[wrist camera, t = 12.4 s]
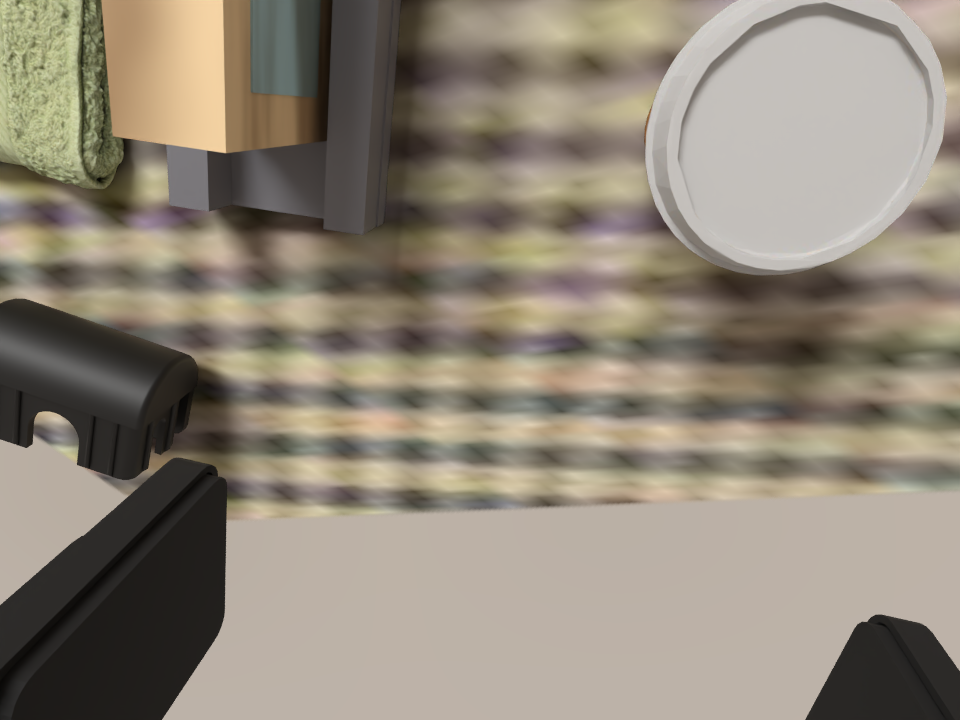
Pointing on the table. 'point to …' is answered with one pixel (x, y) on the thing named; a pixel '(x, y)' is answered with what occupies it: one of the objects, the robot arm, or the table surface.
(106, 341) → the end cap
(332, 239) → the table surface
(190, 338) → the table surface
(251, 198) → the picture stand
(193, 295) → the table surface
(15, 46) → the washcloth
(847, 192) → the disposable coffee cup
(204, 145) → the wooden picture frame
